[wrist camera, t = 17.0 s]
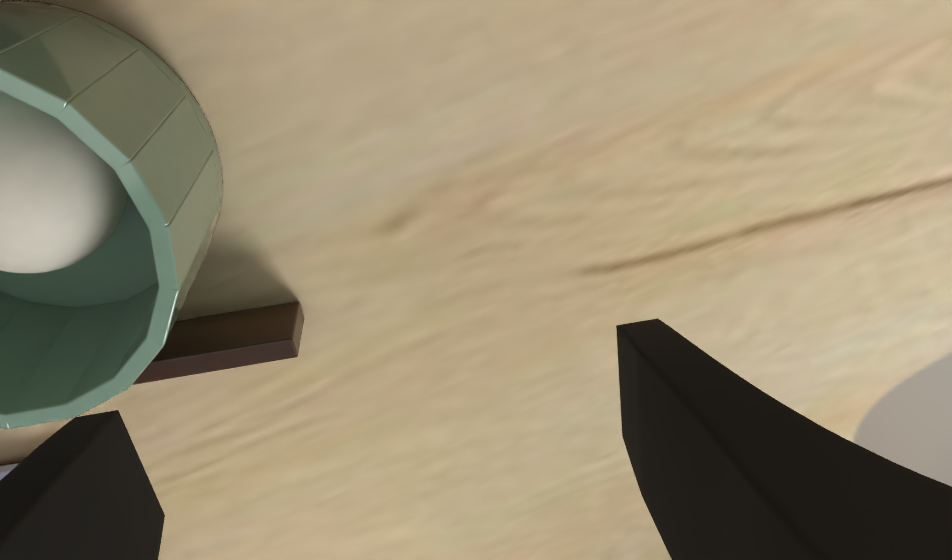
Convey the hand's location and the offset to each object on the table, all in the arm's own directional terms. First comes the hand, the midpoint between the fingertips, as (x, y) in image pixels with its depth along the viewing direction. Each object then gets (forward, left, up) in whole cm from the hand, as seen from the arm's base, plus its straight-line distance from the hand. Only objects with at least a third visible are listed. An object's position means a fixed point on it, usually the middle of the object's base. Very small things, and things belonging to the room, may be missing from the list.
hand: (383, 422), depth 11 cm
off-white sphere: (+2, +7, -8) cm, 11 cm away
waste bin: (+2, +8, -10) cm, 13 cm away
